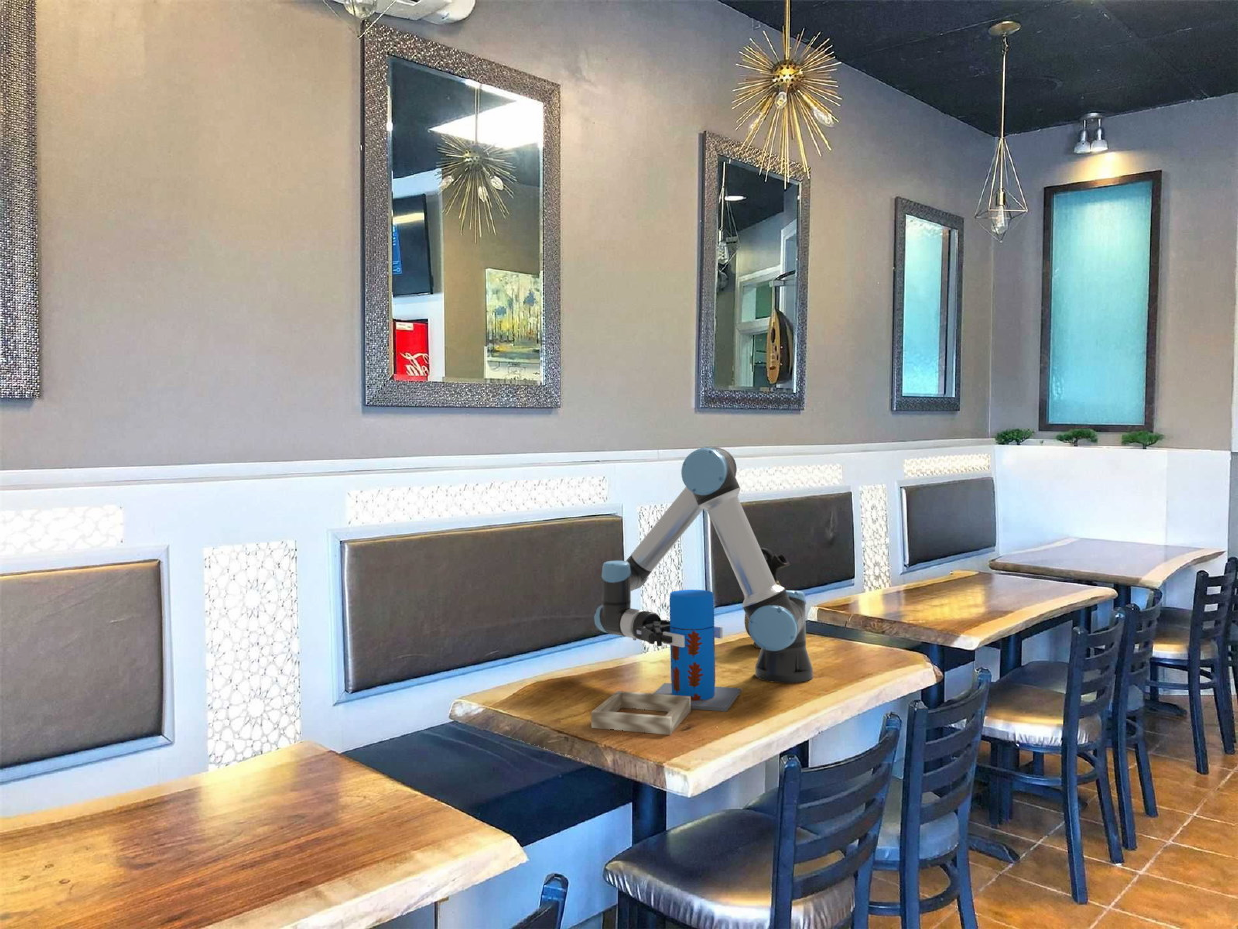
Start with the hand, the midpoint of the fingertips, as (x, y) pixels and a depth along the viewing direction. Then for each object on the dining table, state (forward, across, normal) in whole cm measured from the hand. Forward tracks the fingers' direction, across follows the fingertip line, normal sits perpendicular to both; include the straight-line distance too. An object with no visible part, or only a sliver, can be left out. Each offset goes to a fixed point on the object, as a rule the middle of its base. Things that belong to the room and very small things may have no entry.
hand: (703, 637), depth 222 cm
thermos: (-3, 0, -15) cm, 15 cm away
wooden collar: (0, +21, -16) cm, 26 cm away
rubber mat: (-3, 0, -16) cm, 16 cm away
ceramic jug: (-26, -58, -16) cm, 66 cm away
